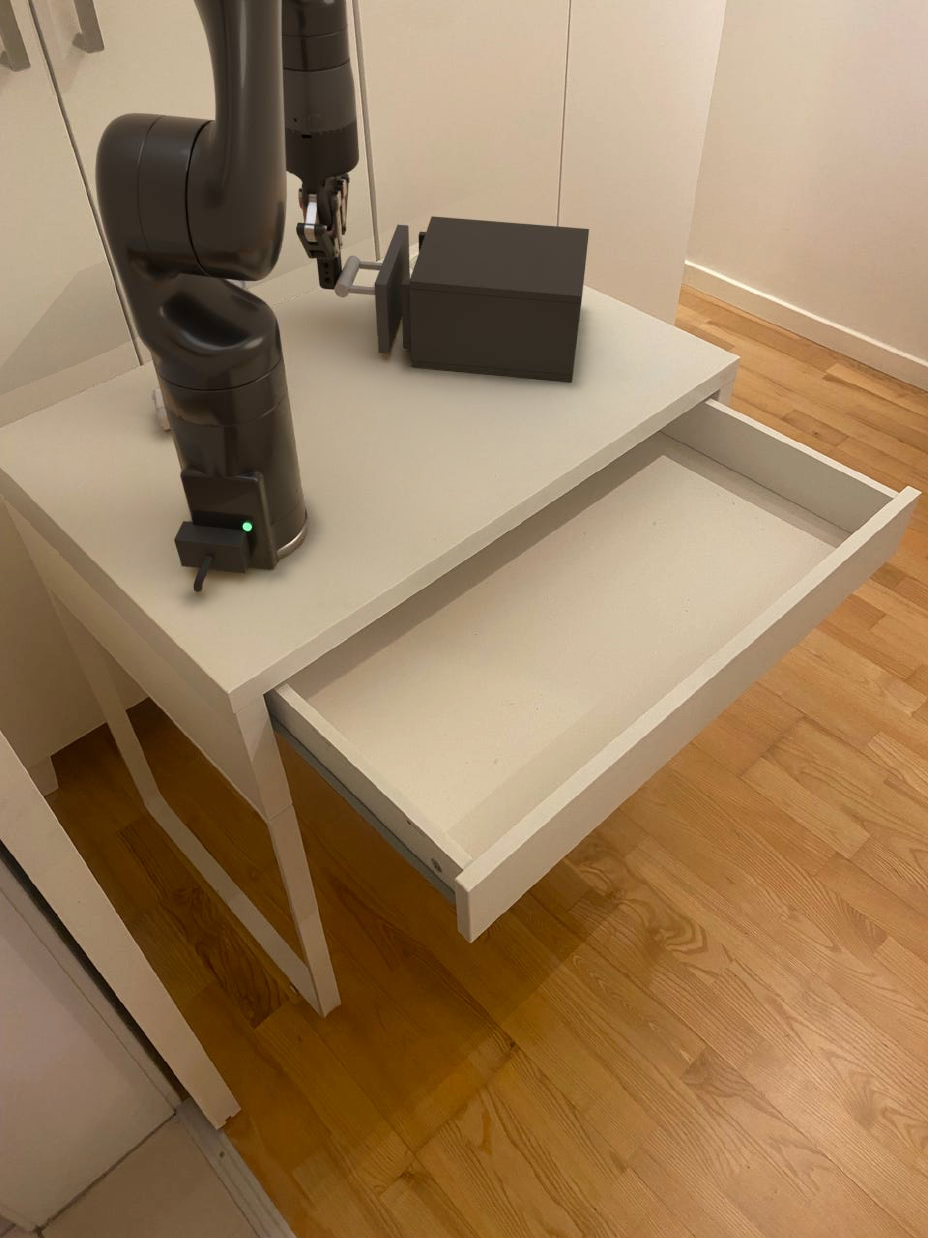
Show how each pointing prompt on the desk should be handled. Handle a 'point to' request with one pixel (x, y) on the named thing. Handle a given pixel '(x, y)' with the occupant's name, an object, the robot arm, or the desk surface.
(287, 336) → the desk surface
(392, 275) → the open dark drawer
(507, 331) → the dark brown box
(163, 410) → the smartwatch
